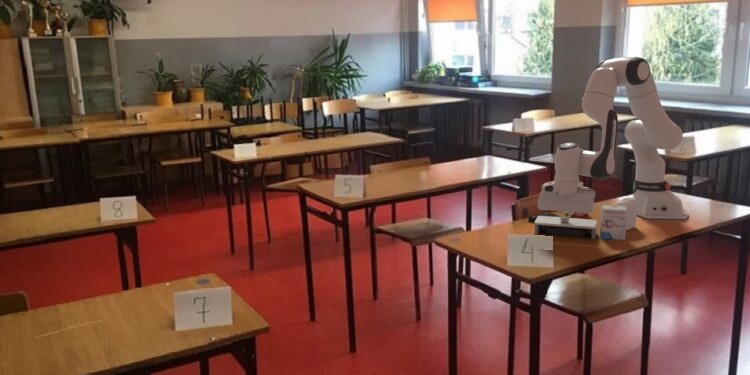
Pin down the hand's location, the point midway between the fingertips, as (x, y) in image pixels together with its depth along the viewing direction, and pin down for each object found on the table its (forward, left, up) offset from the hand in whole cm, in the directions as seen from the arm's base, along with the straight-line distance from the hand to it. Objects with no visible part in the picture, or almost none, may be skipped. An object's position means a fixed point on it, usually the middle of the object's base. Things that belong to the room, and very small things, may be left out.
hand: (564, 222), depth 241 cm
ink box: (-17, -3, -6) cm, 18 cm away
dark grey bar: (0, -2, -4) cm, 4 cm away
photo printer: (-21, -15, -6) cm, 27 cm away
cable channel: (0, -2, -5) cm, 6 cm away
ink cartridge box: (-1, -32, -6) cm, 33 cm away
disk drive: (+7, -16, -6) cm, 19 cm away
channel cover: (0, -2, -1) cm, 2 cm away
